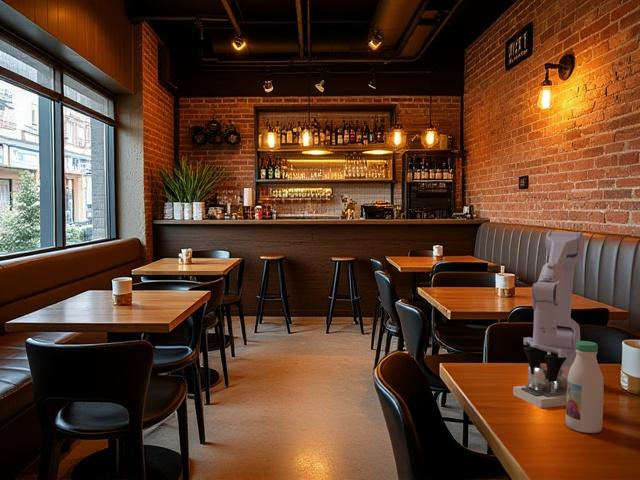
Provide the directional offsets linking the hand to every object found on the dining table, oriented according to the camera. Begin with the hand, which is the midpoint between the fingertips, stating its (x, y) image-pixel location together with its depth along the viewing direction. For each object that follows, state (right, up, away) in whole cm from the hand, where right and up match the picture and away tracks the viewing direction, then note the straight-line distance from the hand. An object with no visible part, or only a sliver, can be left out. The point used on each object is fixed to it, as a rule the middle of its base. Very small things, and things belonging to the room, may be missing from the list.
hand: (543, 377), depth 151 cm
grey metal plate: (+3, -3, +1) cm, 5 cm away
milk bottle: (+2, -7, -19) cm, 20 cm away
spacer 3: (+6, -3, +2) cm, 7 cm away
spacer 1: (+3, -5, +12) cm, 14 cm away
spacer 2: (0, -3, 0) cm, 3 cm away
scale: (+2, -6, +1) cm, 6 cm away
